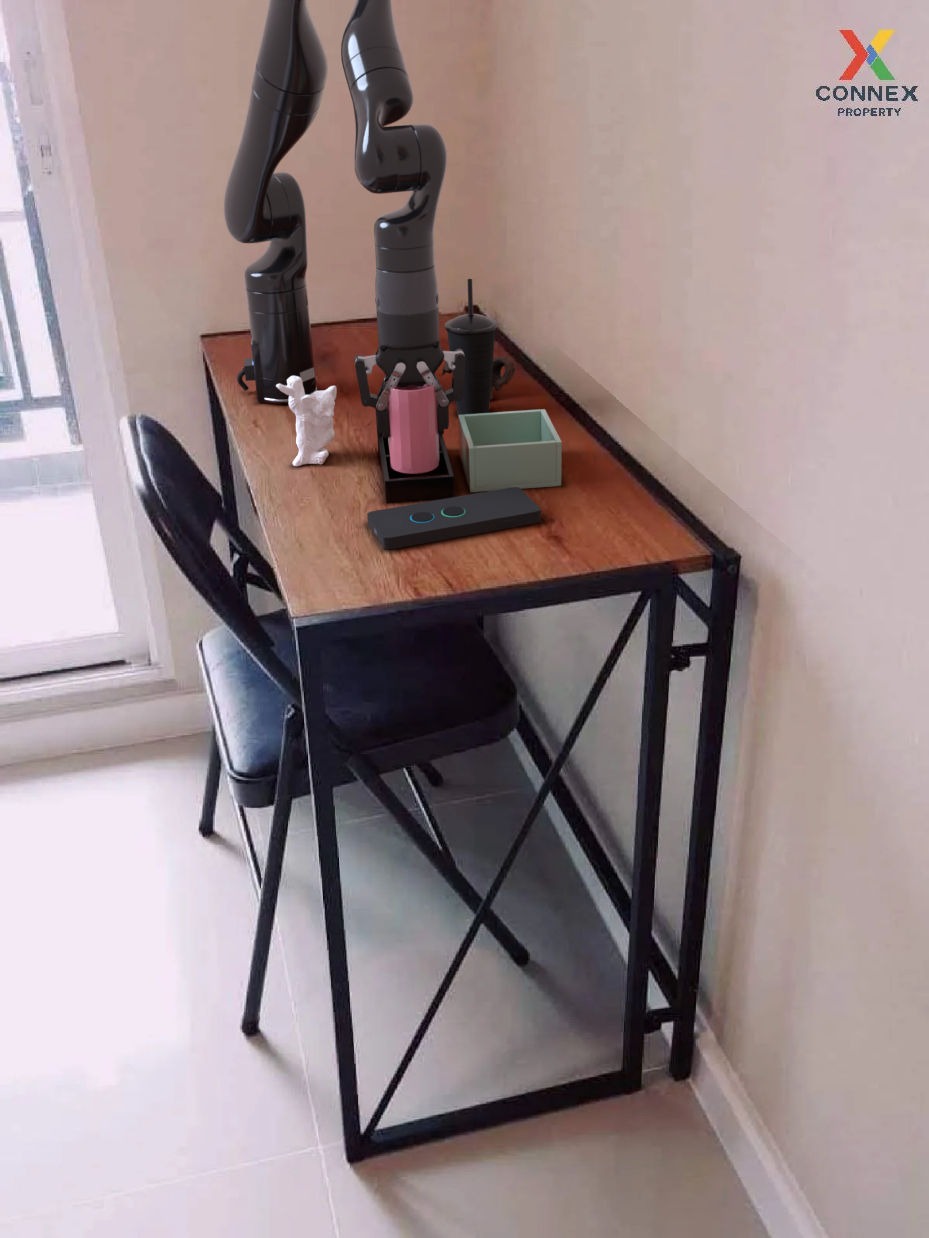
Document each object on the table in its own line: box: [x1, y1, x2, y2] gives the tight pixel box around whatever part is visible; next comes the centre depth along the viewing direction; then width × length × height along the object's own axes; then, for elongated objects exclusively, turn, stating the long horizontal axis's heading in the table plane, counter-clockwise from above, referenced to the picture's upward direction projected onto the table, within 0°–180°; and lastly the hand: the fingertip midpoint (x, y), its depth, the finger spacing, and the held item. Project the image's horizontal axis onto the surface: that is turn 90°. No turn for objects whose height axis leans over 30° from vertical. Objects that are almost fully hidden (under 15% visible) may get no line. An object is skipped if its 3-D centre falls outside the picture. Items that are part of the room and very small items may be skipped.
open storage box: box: [457, 408, 563, 493], centre depth 157 cm, size 12×12×6 cm
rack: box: [374, 401, 456, 504], centre depth 156 cm, size 9×17×8 cm, turn 7°
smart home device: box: [366, 487, 542, 550], centre depth 144 cm, size 8×2×20 cm
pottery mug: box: [441, 356, 516, 400], centre depth 185 cm, size 12×10×8 cm
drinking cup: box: [444, 278, 498, 416], centre depth 173 cm, size 8×8×20 cm
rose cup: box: [386, 382, 439, 474], centre depth 150 cm, size 6×6×11 cm
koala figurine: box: [276, 376, 338, 467], centre depth 161 cm, size 8×7×12 cm
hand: (413, 433), depth 151 cm, fingers closed on rose cup, 6 cm apart
